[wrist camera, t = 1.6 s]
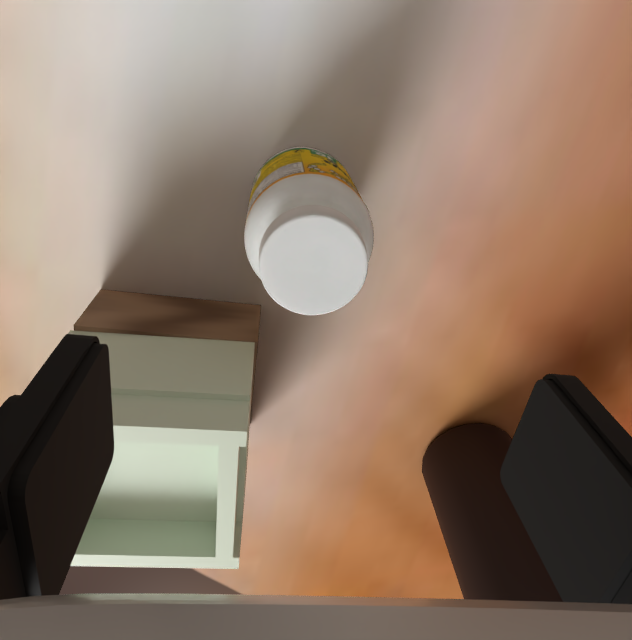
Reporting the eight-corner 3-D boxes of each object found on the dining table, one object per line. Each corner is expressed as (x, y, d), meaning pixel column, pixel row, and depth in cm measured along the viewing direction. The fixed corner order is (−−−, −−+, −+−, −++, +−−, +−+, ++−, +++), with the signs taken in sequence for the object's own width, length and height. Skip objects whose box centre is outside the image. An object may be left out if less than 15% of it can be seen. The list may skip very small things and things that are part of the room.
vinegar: (431, 417, 34) (588, 806, 17) (526, 422, 35) (774, 800, 17) (411, 490, 37) (527, 882, 20) (499, 493, 38) (686, 874, 21)
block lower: (261, 303, 30) (258, 342, 26) (249, 423, 34) (244, 472, 30) (102, 287, 29) (73, 325, 25) (109, 413, 33) (86, 463, 29)
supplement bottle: (231, 178, 26) (208, 240, 18) (323, 124, 25) (344, 162, 17) (285, 263, 28) (286, 353, 20) (370, 216, 28) (410, 290, 19)
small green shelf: (254, 342, 26) (247, 425, 20) (246, 473, 30) (238, 572, 24) (70, 330, 25) (7, 414, 19) (88, 467, 29) (41, 569, 23)
